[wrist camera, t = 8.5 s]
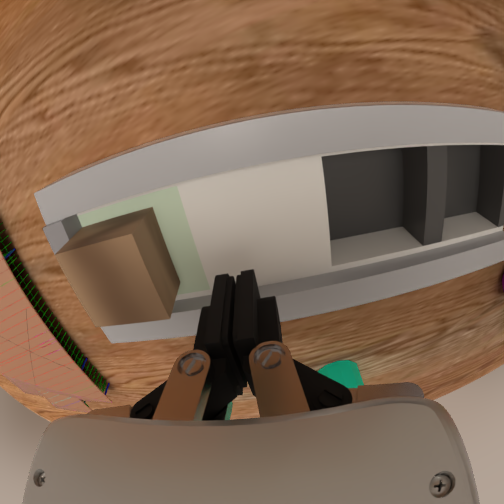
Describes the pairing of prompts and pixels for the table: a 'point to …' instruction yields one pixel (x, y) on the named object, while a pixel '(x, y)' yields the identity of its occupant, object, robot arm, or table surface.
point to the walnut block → (121, 270)
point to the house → (39, 351)
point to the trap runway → (305, 204)
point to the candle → (343, 373)
